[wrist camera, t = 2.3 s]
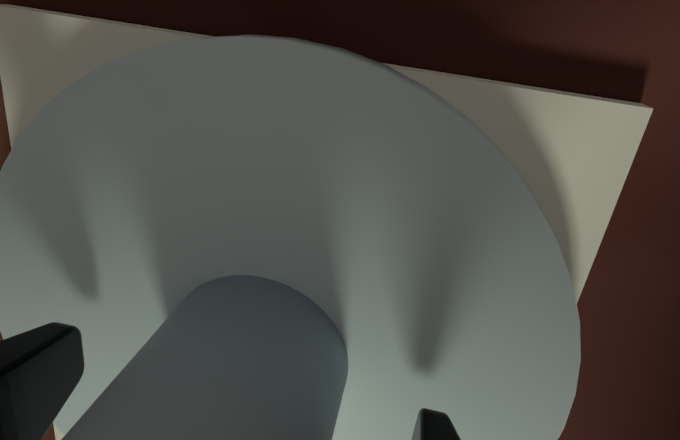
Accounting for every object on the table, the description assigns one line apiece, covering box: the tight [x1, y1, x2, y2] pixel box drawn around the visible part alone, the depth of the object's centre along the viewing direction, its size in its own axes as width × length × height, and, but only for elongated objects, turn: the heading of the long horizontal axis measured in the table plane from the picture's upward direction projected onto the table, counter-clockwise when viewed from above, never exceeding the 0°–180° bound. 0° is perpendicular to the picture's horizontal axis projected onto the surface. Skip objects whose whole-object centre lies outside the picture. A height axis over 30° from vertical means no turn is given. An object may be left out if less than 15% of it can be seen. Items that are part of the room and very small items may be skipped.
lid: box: [0, 34, 581, 440], centre depth 7 cm, size 10×10×5 cm
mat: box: [0, 4, 653, 440], centre depth 9 cm, size 10×10×1 cm
